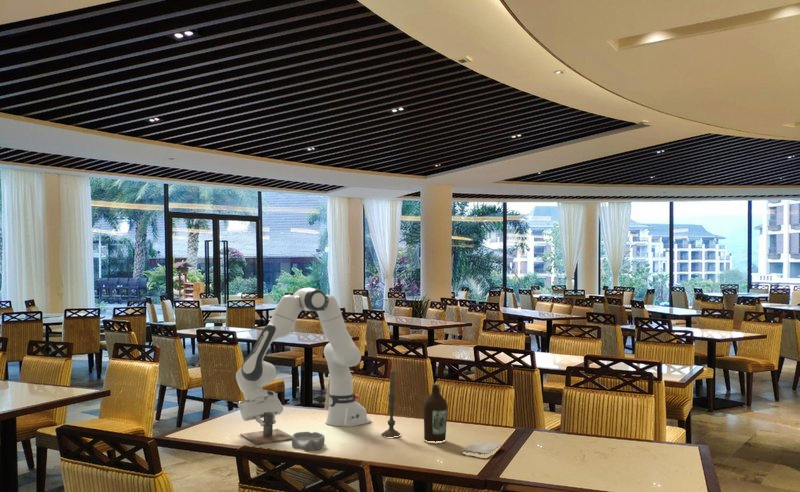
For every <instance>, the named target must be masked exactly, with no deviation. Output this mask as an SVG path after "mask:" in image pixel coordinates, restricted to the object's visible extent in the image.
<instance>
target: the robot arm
mask: <svg viewBox="0 0 800 492" xmlns="http://www.w3.org/2000/svg"><path fill="white" fill-rule="evenodd" d="M303 311H306V312H316V314H317V316H318V319H319V322H320V326H321V330H322V332H323V335H324V337H325V338H326V340H327V341H328V343H327V344H326V345H325V346H324V347H323V356H324V357H325V360H326V364H327V368H328V373H329V394H328V412H327V416H326V421H325V423H326V425H329V426H334V427H346V428H347V427H348V428H350V427H356V426H359V425H360V426H361V425H365V424H368V423H369V422H370V423H372V419H371V418H369V417H368V414H367V409H366V408H365V407H364V406H363V405H362V404H360V403H359V402H358V401H357V400H358V399H359V398H360V395H359V394H357V393H353V391H354V390H353V389H354V388H353V387H354V386H353V375H352V373H351V370H350V368H353V367H355V366H357V365H358V364H359V363H360V362H361V360H362V352H361V350H360V349H359V348H358V347H357V346H356V344H355V342H354V340H353V339H352V337H351V335H350V332H349V331H348V329H347V327H346V323H345V320H344V317H343V314H342V310H341V307H340V305H339V303H338V301H337V299H336V297H335V296H334V295H332V294H325V292H324V291H323V290H321V289H319V288H316V287H315V288H314V287H309V286H308V287H300V288H297V289H296V290H294V291H293V292H292V294H285V295H283V296H281V298H280V299H279V301H278V303H277V305H276V306H275V308H274V311H273V313H272V315H271V317H270V320H269V322H268V324H267V325H265V327H264V328H263V329H262V330H261V332H260V334H259V336H258V337H257V340H256V341H255V343H254V346H253V347H252V349H251V352H250V353H249V355H248V356H247V357H246V358H245V360H244V361H243V362H242V365H241V367H240V368H239V369H238V370H237V371H236V372H235V379H236V383H237V385H238V387H239V390H240V391H241V392H242V394H243V398H244V400H239V401H238V403H237V407H238V408H239V411H240V415H241V417H242V420H244V422H246V421H247V422H248V421H252V420H255V422H257V423H258V424H259V425H260V427H262V428H263V426H265V425H266V423H265V421H264V420H262V418H263V419H264V413H265V412H271V413H273V425H275V424H276V423H277V420H276V416H277V415H278V416H279V415H281V414H282V413H283V411H284V406H283V405H282V402H281V401H280V399H279V398H278V397H277V396H276V392H275V391H271V390H266V389H263V387H265V386H267V385H269V384H270V383H271V382H272V383H273V381H274V380H275V379H276V376H277V368H276V367H275V365H274V364H272V363H270V362H268V361H265V360H264V358H265V356H266V354H267V352H268V350H269V348H270V346H271V344H273V342H274V341H276V340H278V339H283V338H285V337H288V336H289V335H290V334H291V333H292V331H293V330H294V328H295V325H296V322H297V319H298V316H299V315H300V313H301V312H303Z"/></svg>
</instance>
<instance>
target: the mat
mask: <svg viewBox="0 0 800 492" xmlns="http://www.w3.org/2000/svg"><path fill="white" fill-rule="evenodd" d="M237 437H238V438H240V439H242V440H243V441H244V442H247V443H249V444H250V445H252V446H254V447H261V446H268V445H274V444H280V443H287V442H292V440H289V441H283V442H276V443H270V444H263V445H255V444H253V443H252V442H250V441H248V440H247V439H245V438H243V437H242V436H240V434H239V435H237Z"/></svg>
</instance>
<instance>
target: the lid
mask: <svg viewBox="0 0 800 492" xmlns="http://www.w3.org/2000/svg"><path fill="white" fill-rule="evenodd" d="M263 421H265V423H266V425H265V426H262V428H263V430H260V431H252V432H245V433H240V434H239V435H240V436H242V437H243V438H245V439H247V440H248V441H250V442H252V443H253V444H255V445H262V446H264V445H263V444H268V445H271V444H270V443H275V444H277V443H276V442H282V443H284V442H283V441H288V442H290V441H289V440H292V435H291V434H289V433H287V432H285V431H283V430H281V429H279V428H274V424H273V413H271V412H265V413H264V417H263Z"/></svg>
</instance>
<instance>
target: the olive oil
mask: <svg viewBox="0 0 800 492" xmlns="http://www.w3.org/2000/svg"><path fill="white" fill-rule="evenodd" d="M431 386H432V387H431V394H430V395H429V396H427V398H425V400H424V403H423V436H424V437H423V439H425V440H427V441H435V442H436V441H443V440H445V439H446V438H447V437H446V436H447V421H448V420H447V419H448V403H447V401H446V399H445V397H443V395H441V393H440V391H441V390H440V384H438V383H433V384H432V385H431ZM446 440H447V439H446Z"/></svg>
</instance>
